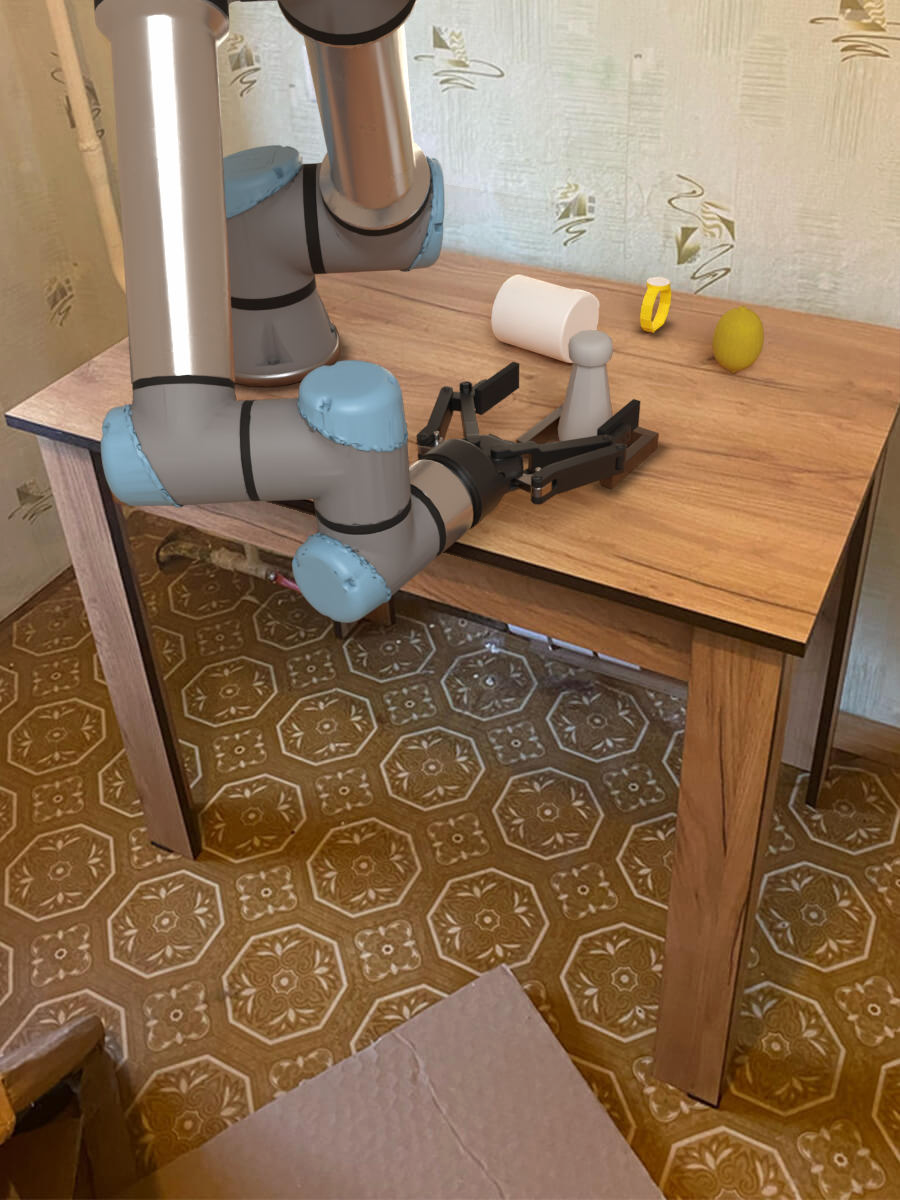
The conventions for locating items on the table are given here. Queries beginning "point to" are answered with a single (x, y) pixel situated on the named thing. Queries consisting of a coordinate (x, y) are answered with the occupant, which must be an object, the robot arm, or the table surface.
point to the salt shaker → (587, 386)
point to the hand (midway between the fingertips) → (574, 392)
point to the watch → (649, 299)
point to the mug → (542, 315)
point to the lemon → (738, 339)
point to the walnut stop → (639, 450)
